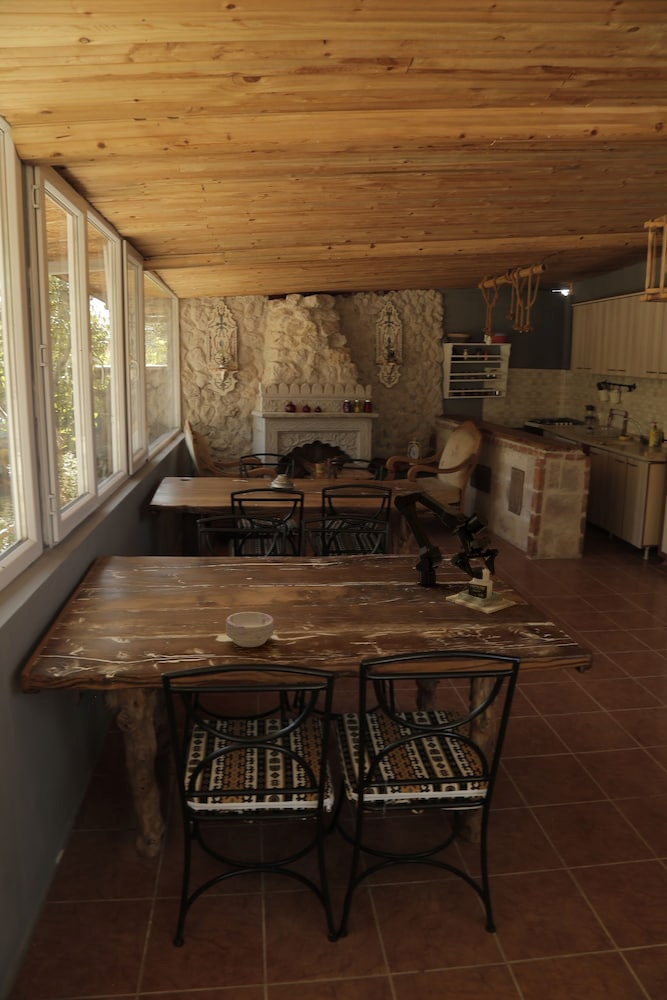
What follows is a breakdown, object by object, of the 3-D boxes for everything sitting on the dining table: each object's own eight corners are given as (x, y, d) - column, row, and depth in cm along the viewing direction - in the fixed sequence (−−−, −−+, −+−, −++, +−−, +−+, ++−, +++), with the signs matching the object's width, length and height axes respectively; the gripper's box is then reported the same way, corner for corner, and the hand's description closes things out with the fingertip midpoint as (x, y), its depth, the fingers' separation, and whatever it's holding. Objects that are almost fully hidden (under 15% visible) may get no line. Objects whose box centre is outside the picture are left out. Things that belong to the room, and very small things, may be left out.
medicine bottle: (467, 600, 285) (469, 569, 282) (473, 595, 291) (475, 565, 289) (486, 603, 281) (488, 572, 279) (491, 598, 288) (493, 567, 285)
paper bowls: (283, 641, 245) (283, 618, 243) (248, 655, 233) (248, 630, 232) (251, 630, 255) (251, 607, 253) (216, 642, 243) (215, 618, 242)
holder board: (445, 599, 288) (446, 590, 288) (472, 591, 299) (473, 583, 298) (488, 613, 274) (488, 604, 273) (515, 604, 284) (515, 595, 283)
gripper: (456, 531, 280) (473, 568, 273) (497, 527, 288) (514, 562, 281) (443, 547, 289) (459, 583, 281) (483, 542, 297) (500, 577, 289)
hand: (483, 576), depth 283 cm, fingers open, 9 cm apart
